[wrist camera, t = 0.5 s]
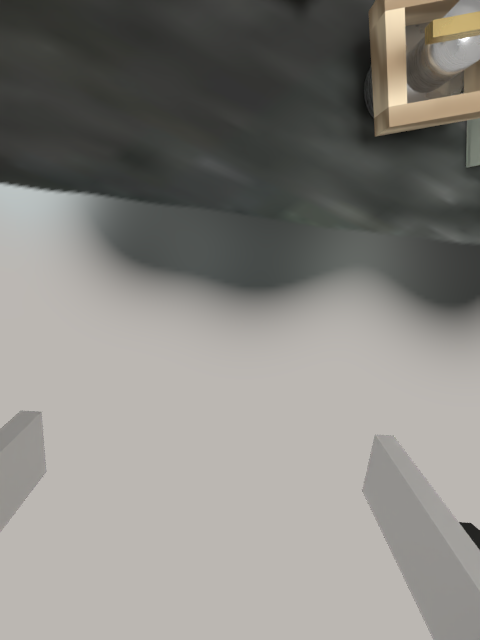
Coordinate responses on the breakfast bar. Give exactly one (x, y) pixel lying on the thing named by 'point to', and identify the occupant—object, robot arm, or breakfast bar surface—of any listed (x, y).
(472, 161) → the tray
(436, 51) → the grey piece
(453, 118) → the tan wooden square frame
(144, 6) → the breakfast bar surface
